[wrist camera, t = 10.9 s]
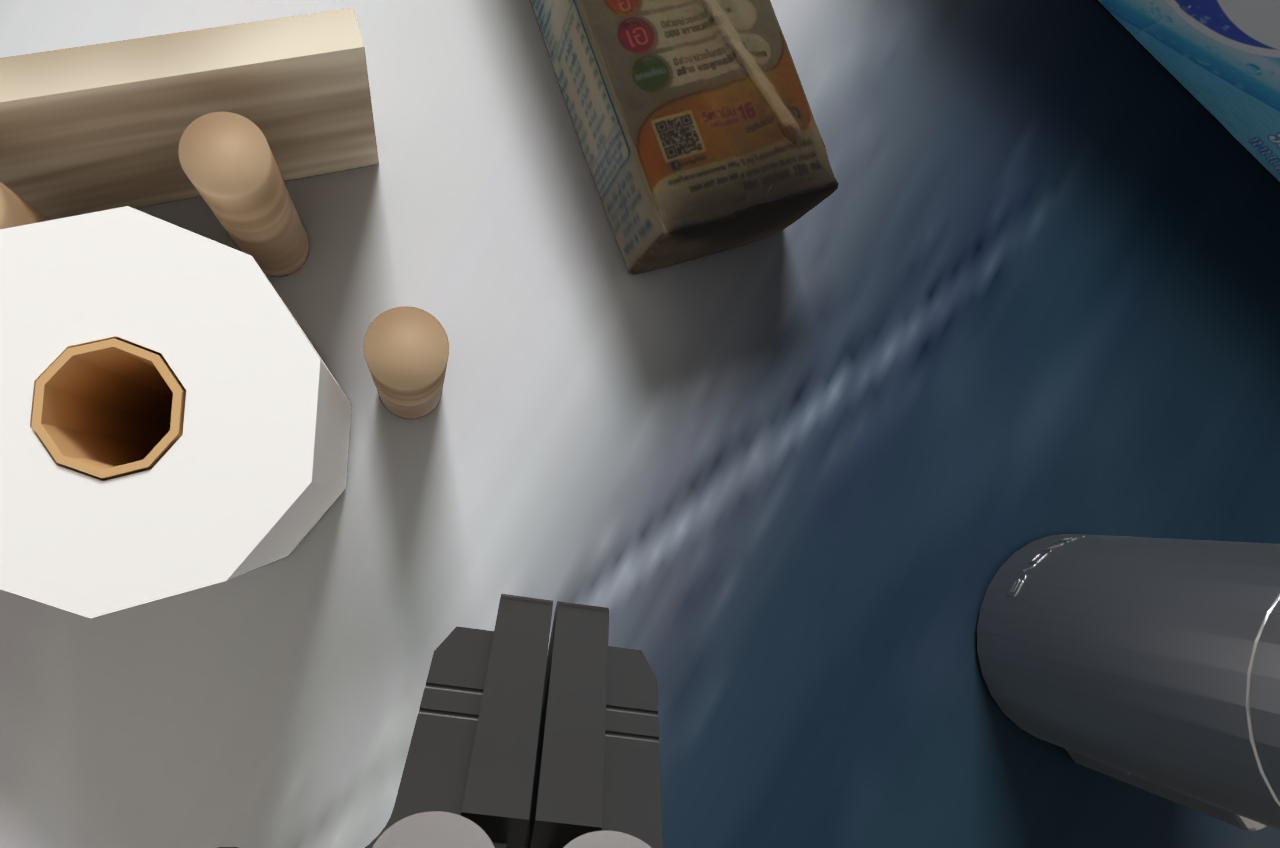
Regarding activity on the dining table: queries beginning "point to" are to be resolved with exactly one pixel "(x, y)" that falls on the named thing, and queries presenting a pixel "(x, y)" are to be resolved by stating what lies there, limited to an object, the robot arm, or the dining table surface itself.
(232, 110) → the peg cradle
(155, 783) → the dining table surface
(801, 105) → the beverage carton
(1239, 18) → the soda box
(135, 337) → the toilet paper
